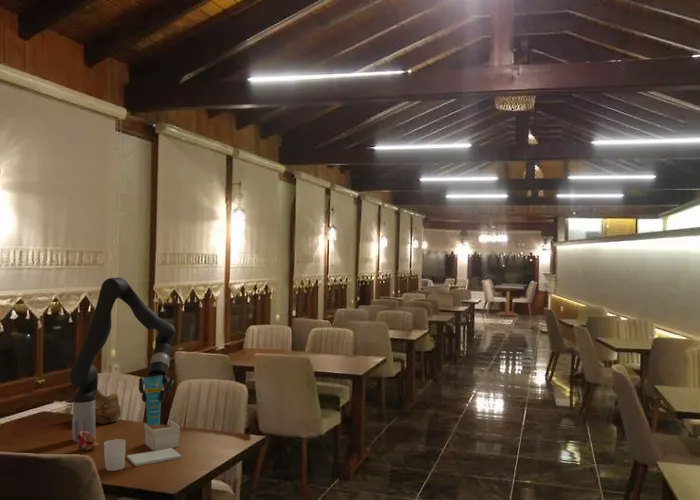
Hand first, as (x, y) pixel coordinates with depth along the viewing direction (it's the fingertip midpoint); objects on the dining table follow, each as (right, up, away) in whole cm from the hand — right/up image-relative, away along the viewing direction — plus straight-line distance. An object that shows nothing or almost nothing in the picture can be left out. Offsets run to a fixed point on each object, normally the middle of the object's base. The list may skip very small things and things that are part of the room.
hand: (152, 400), depth 253 cm
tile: (0, -23, +1) cm, 23 cm away
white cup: (-11, -23, -11) cm, 28 cm away
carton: (-2, -24, +19) cm, 30 cm away
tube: (0, -10, +2) cm, 10 cm away
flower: (-32, -24, +14) cm, 42 cm away
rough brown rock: (-48, -25, +61) cm, 81 cm away
